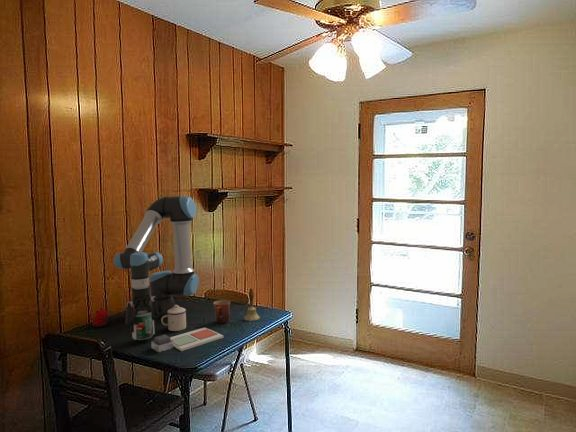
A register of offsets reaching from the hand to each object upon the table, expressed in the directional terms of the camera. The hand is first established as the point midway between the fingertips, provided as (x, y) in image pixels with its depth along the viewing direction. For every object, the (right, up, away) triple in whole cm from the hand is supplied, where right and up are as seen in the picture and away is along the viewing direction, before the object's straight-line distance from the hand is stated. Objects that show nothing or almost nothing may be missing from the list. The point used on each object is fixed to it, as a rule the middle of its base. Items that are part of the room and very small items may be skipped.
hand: (143, 335), depth 189 cm
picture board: (+23, -2, +1) cm, 23 cm away
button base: (+11, -3, -9) cm, 15 cm away
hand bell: (+47, +1, +28) cm, 55 cm away
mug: (+32, 0, +23) cm, 39 cm away
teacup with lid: (+10, -1, +16) cm, 18 cm away
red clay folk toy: (-30, -2, +23) cm, 37 cm away
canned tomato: (0, -1, 0) cm, 1 cm away
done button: (+11, -1, -9) cm, 14 cm away
